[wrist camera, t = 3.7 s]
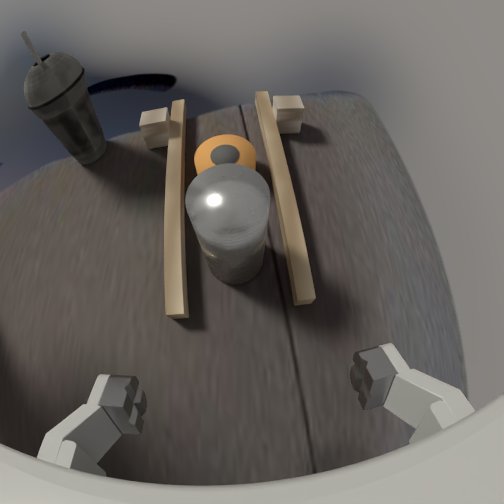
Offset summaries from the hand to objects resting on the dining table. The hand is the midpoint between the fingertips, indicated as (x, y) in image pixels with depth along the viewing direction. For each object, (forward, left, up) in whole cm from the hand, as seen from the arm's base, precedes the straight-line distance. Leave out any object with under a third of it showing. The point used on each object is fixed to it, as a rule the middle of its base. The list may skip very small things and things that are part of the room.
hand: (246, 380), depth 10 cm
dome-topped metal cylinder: (-3, +10, -14) cm, 17 cm away
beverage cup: (-24, +21, -14) cm, 35 cm away
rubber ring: (-5, +19, -14) cm, 24 cm away
